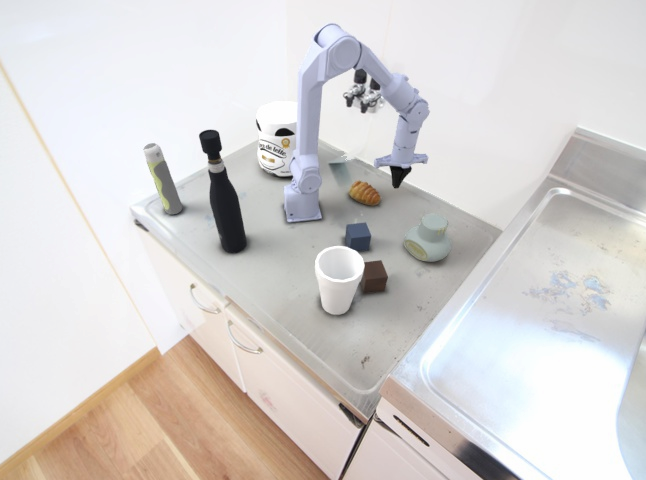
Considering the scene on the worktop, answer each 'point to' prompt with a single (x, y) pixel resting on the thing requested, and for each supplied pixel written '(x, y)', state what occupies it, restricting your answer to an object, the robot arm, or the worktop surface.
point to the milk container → (276, 136)
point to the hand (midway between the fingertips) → (395, 186)
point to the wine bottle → (223, 196)
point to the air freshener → (429, 238)
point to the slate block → (358, 236)
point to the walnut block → (373, 277)
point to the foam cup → (338, 277)
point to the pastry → (364, 193)
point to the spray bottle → (162, 178)
